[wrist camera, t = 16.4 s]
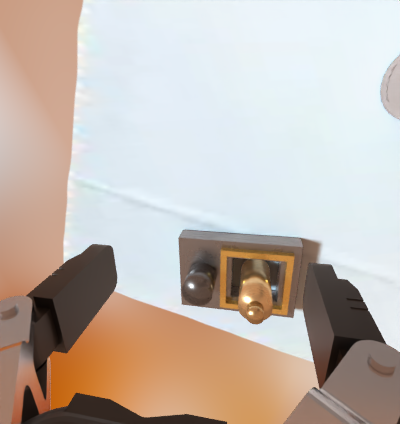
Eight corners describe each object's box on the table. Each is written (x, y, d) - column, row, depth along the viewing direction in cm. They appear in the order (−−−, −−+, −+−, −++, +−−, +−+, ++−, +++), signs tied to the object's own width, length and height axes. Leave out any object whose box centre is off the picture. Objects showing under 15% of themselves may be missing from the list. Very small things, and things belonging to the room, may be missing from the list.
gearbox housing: (300, 238, 46) (308, 264, 39) (291, 306, 51) (296, 340, 44) (183, 229, 50) (170, 252, 42) (185, 294, 55) (174, 323, 48)
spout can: (270, 259, 49) (275, 305, 38) (268, 283, 51) (271, 333, 40) (241, 256, 50) (237, 300, 39) (240, 280, 51) (236, 328, 40)
